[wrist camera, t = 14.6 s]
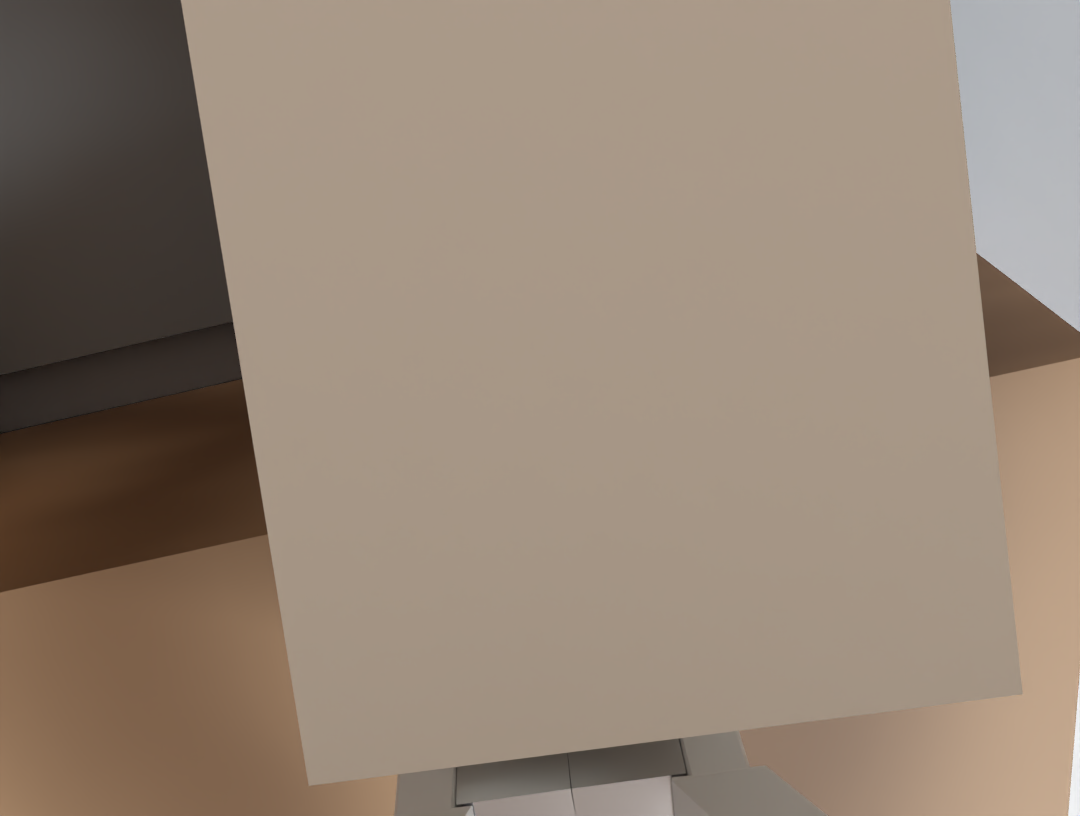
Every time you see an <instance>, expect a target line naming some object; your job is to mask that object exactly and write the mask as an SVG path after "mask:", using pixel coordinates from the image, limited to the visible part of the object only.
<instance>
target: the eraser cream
mask: <svg viewBox="0 0 1080 816" xmlns="http://www.w3.org/2000/svg"><path fill="white" fill-rule="evenodd" d="M181 4H182V10H183V17H184V23H185V29H186V35H187V41H188V47H189V53H190V60H191V66H192V72H193V78H194V84H195V90H196V96H197V103H198V109H199V115H200V121H201V127H202V133H203V139H204V146H205V152H206V158H207V164H208V170H209V176H210V182H211V189H212V195H213V201H214V207H215V213H216V219H217V225H218V232H219V238H220V244H221V250H222V256H223V262H224V268H225V275H226V281H227V287H228V293H229V299H230V305H231V311H232V318H233V324H234V330H235V336H236V342H237V348H238V354H239V360H240V367H241V373H242V379H243V385H244V391H245V397H246V403H247V410H248V416H249V422H250V428H251V434H252V440H253V446H254V453H255V459H256V465H257V471H258V477H259V483H260V489H261V496H262V502H263V508H264V514H265V520H266V526H267V532H268V539H269V545H270V551H271V557H272V563H273V569H274V575H275V582H276V588H277V594H278V600H279V606H280V612H281V618H282V625H283V631H284V637H285V643H286V649H287V655H288V661H289V668H290V674H291V680H292V686H293V692H294V698H295V704H296V710H297V717H298V723H299V729H300V735H301V741H302V747H303V753H304V760H305V766H306V772H307V778H308V784H309V786H311V785H319V784H327V783H335V782H343V781H350V780H358V779H366V778H374V777H382V776H389V775H397V774H405V773H413V772H421V771H428V770H436V769H444V768H452V767H459V766H467V765H475V764H483V763H491V762H498V761H506V760H514V759H522V758H530V757H537V756H545V755H553V754H561V753H569V752H576V751H584V750H592V749H600V748H608V747H615V746H623V745H631V744H639V743H647V742H654V741H662V740H670V739H678V738H686V737H693V736H701V735H709V734H717V733H724V732H732V731H740V730H748V729H756V728H763V727H771V726H779V725H787V724H795V723H802V722H810V721H818V720H826V719H834V718H841V717H849V716H857V715H865V714H873V713H880V712H888V711H896V710H904V709H912V708H919V707H927V706H935V705H943V704H951V703H958V702H966V701H974V700H982V699H990V698H997V697H1005V696H1013V695H1021V694H1023V692H1022V683H1021V673H1020V664H1019V654H1018V645H1017V635H1016V626H1015V616H1014V607H1013V597H1012V588H1011V578H1010V569H1009V559H1008V550H1007V540H1006V531H1005V521H1004V512H1003V502H1002V493H1001V483H1000V473H999V464H998V454H997V445H996V435H995V426H994V416H993V407H992V397H991V388H990V378H989V369H988V359H987V350H986V340H985V331H984V321H983V312H982V302H981V293H980V283H979V274H978V264H977V255H976V245H975V236H974V226H973V216H972V207H971V197H970V188H969V178H968V169H967V159H966V150H965V140H964V131H963V121H962V112H961V102H960V93H959V83H958V74H957V64H956V55H955V45H954V36H953V26H952V17H951V7H950V0H181Z"/></svg>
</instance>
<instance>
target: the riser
mask: <svg viewBox="0 0 1080 816" xmlns="http://www.w3.org/2000/svg"><path fill="white" fill-rule="evenodd" d="M976 255H977V264H978V274H979V283H980V293H981V302H982V312H983V321H984V331H985V340H986V350H987V359H988V369H989V378H990V388H991V397H992V407H993V416H994V426H995V435H996V445H997V454H998V464H999V473H1000V483H1001V493H1002V502H1003V512H1004V521H1005V531H1006V540H1007V550H1008V559H1009V569H1010V578H1011V588H1012V597H1013V607H1014V616H1015V626H1016V635H1017V645H1018V654H1019V664H1020V673H1021V683H1022V692H1023V694H1021V695H1013V696H1005V697H997V698H990V699H982V700H974V701H966V702H958V703H951V704H943V705H935V706H927V707H919V708H912V709H904V710H896V711H888V712H880V713H873V714H865V715H857V716H849V717H841V718H834V719H826V720H818V721H810V722H802V723H795V724H787V725H779V726H771V727H763V728H756V729H748V730H740V731H739V733H740V736H741V740H742V743H743V746H744V749H745V753H746V756H747V759H748V762H749V766H750V767H756V766H767V767H768V768H770V769H771V770H772V771H773V772H775V773H776V774H777V775H778V776H779V777H781V778H782V779H783V780H784V781H786V782H787V783H788V784H789V785H791V786H792V787H793V788H794V789H795V790H797V791H798V792H799V793H800V794H802V795H803V796H804V797H805V798H807V799H808V800H809V801H810V802H812V803H813V804H814V805H815V806H816V807H818V808H819V809H820V810H821V811H823V812H824V813H825V814H826V815H828V816H1068V809H1069V797H1070V784H1071V772H1072V760H1073V747H1074V735H1075V723H1076V710H1077V698H1078V686H1079V673H1080V332H1079V331H1077V330H1076V329H1075V328H1073V327H1072V326H1071V325H1070V324H1068V323H1067V322H1066V321H1064V320H1063V319H1062V318H1060V317H1059V316H1058V315H1057V314H1055V313H1054V312H1053V311H1051V310H1050V309H1049V308H1047V307H1046V306H1045V305H1044V304H1042V303H1041V302H1040V301H1038V300H1037V299H1036V298H1034V297H1033V296H1032V295H1031V294H1029V293H1028V292H1027V291H1025V290H1024V289H1023V288H1021V287H1020V286H1019V285H1018V284H1016V283H1015V282H1014V281H1012V280H1011V279H1010V278H1008V277H1007V276H1006V275H1005V274H1003V273H1002V272H1001V271H999V270H998V269H997V268H995V267H994V266H993V265H992V264H990V263H989V262H988V261H986V260H985V259H984V258H982V257H981V256H980V255H979V254H977V253H976ZM397 776H398V774H397V775H389V776H382V777H374V778H366V779H358V780H350V781H343V782H335V783H327V784H319V785H311V786H309V784H308V778H307V772H306V766H305V760H304V753H303V747H302V741H301V735H300V729H299V723H298V717H297V710H296V704H295V698H294V692H293V686H292V680H291V674H290V668H289V661H288V655H287V649H286V643H285V637H284V631H283V625H282V618H281V612H280V606H279V600H278V594H277V588H276V582H275V575H274V569H273V563H272V557H271V551H270V545H269V539H268V532H267V526H266V520H265V514H264V508H263V502H262V496H261V489H260V483H259V477H258V471H257V465H256V459H255V453H254V446H253V440H252V434H251V428H250V422H249V416H248V410H247V403H246V397H245V391H244V385H243V379H240V380H236V381H231V382H227V383H222V384H218V385H213V386H209V387H205V388H200V389H196V390H191V391H187V392H183V393H178V394H174V395H169V396H165V397H161V398H156V399H152V400H147V401H143V402H139V403H134V404H130V405H125V406H121V407H116V408H112V409H108V410H103V411H99V412H94V413H90V414H86V415H81V416H77V417H72V418H68V419H64V420H59V421H55V422H50V423H46V424H42V425H37V426H33V427H28V428H24V429H19V430H15V431H11V432H6V433H2V434H0V816H394V810H395V799H396V788H397Z"/></svg>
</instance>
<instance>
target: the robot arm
mask: <svg viewBox="0 0 1080 816" xmlns="http://www.w3.org/2000/svg"><path fill="white" fill-rule="evenodd" d="M394 816H828V815H826V814H825V813H824V812H823V811H821V810H820V809H819V808H818V807H816V806H815V805H814V804H813V803H812V802H810V801H809V800H808V799H807V798H805V797H804V796H803V795H802V794H800V793H799V792H798V791H797V790H795V789H794V788H793V787H792V786H791V785H789V784H788V783H787V782H786V781H784V780H783V779H782V778H781V777H779V776H778V775H777V774H776V773H775V772H773V771H772V770H771V769H770V768H768V767H767V766H756V767H750V766H749V762H748V759H747V756H746V753H745V749H744V746H743V743H742V740H741V736H740V733H739V731H732V732H724V733H717V734H709V735H701V736H693V737H686V738H678V739H670V740H662V741H654V742H647V743H639V744H631V745H623V746H615V747H608V748H600V749H592V750H584V751H576V752H569V753H561V754H553V755H545V756H537V757H530V758H522V759H514V760H506V761H498V762H491V763H483V764H475V765H467V766H459V767H452V768H444V769H436V770H428V771H421V772H413V773H405V774H398V776H397V788H396V799H395V810H394Z"/></svg>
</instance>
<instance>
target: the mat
mask: <svg viewBox="0 0 1080 816" xmlns="http://www.w3.org/2000/svg"><path fill="white" fill-rule="evenodd" d="M229 322H233V318H232V311H231V305H230V299H229V293H228V287H227V281H226V275H225V268H224V262H223V256H222V250H221V244H220V238H219V232H218V225H217V219H216V213H215V207H214V201H213V195H212V189H211V182H210V176H209V170H208V164H207V158H206V152H205V146H204V139H203V133H202V127H201V121H200V115H199V109H198V103H197V96H196V90H195V84H194V78H193V72H192V66H191V60H190V53H189V47H188V41H187V35H186V29H185V23H184V17H183V10H182V4H181V0H0V375H3V374H7V373H12V372H16V371H20V370H25V369H29V368H33V367H38V366H42V365H46V364H51V363H55V362H59V361H64V360H68V359H72V358H77V357H81V356H85V355H90V354H94V353H98V352H103V351H107V350H111V349H116V348H120V347H125V346H129V345H133V344H138V343H142V342H146V341H151V340H155V339H159V338H164V337H168V336H172V335H177V334H181V333H185V332H190V331H194V330H198V329H203V328H207V327H211V326H216V325H220V324H224V323H229Z"/></svg>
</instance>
